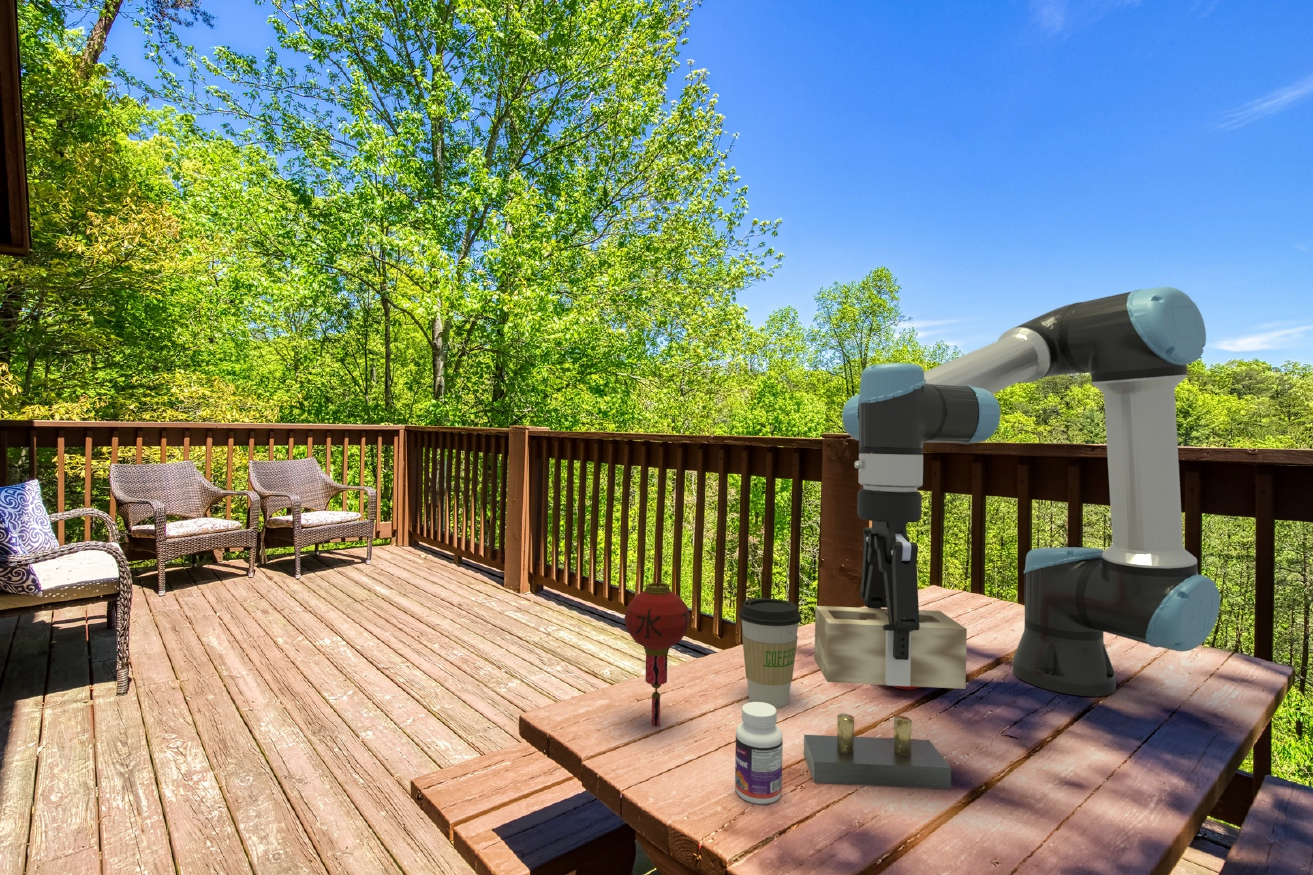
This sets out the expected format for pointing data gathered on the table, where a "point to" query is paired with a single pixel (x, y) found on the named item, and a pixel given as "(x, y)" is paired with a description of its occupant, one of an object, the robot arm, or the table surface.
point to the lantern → (657, 630)
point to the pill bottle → (758, 754)
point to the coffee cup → (769, 648)
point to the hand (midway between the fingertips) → (885, 670)
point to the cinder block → (858, 647)
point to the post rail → (876, 758)
